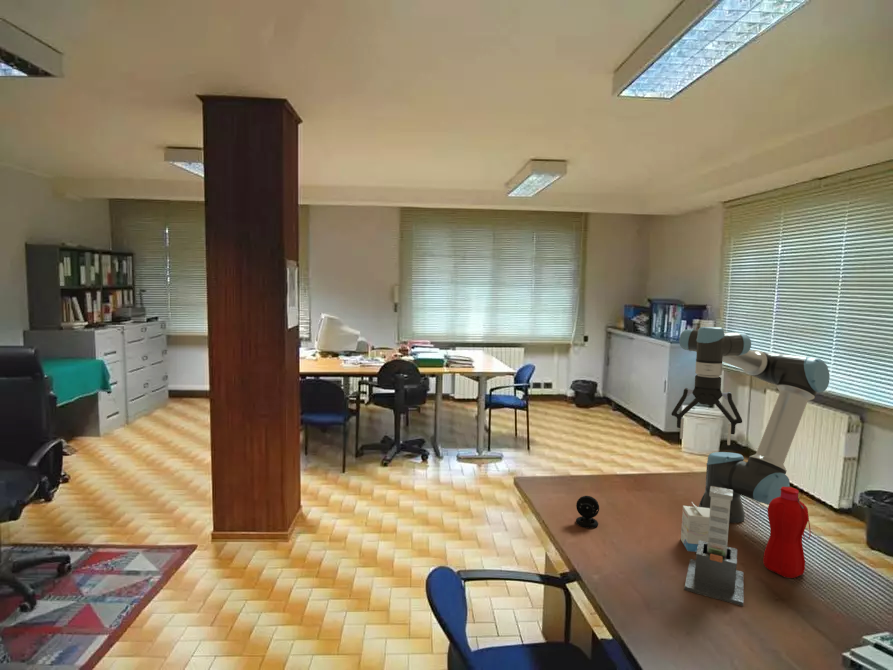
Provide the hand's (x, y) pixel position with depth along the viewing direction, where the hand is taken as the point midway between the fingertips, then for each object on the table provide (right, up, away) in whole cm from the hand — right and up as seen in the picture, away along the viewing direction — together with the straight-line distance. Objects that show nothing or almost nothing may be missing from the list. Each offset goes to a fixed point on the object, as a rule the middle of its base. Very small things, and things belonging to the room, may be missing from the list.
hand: (704, 440), depth 169 cm
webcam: (-34, -32, +14) cm, 49 cm away
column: (-8, -28, -22) cm, 37 cm away
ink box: (-2, -34, 0) cm, 34 cm away
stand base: (-8, -35, -21) cm, 42 cm away
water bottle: (+17, -36, -14) cm, 42 cm away
